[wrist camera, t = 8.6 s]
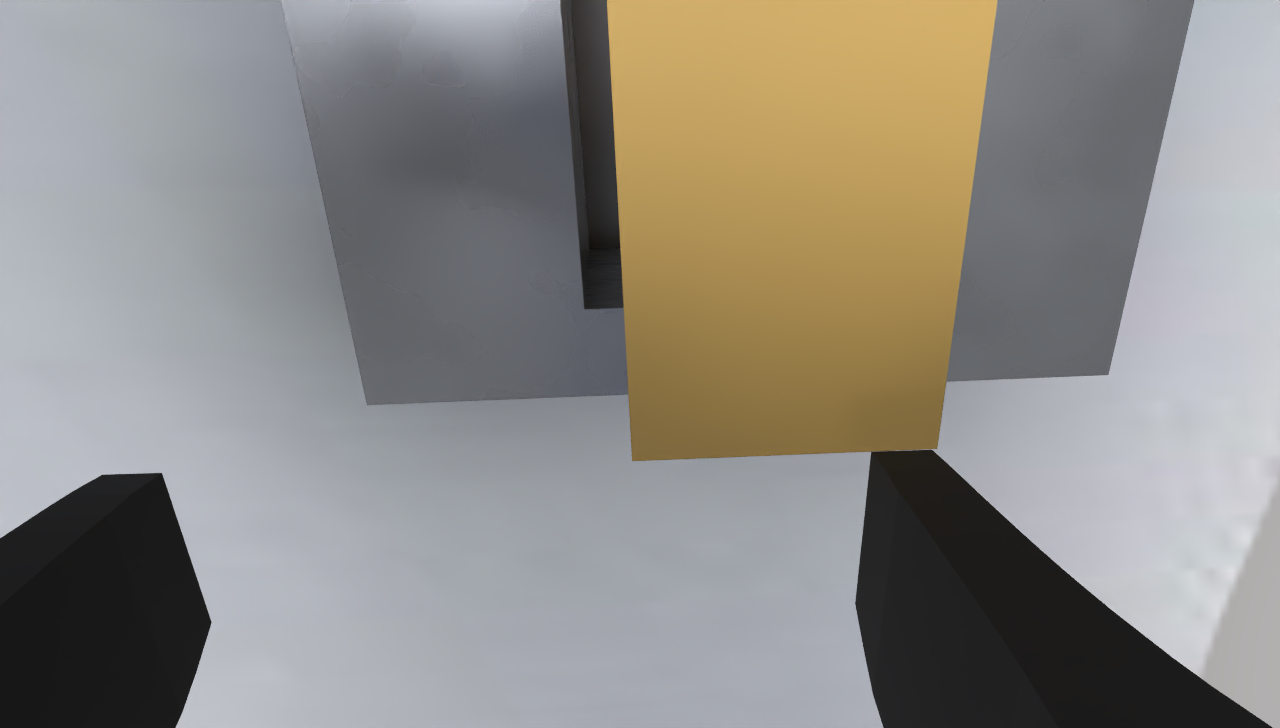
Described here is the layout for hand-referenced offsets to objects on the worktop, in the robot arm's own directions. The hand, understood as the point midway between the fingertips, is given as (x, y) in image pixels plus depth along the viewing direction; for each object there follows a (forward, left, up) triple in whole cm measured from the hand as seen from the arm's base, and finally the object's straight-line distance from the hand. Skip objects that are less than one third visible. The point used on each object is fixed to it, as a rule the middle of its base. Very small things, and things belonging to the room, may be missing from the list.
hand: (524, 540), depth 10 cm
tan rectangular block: (+3, -3, -9) cm, 10 cm away
